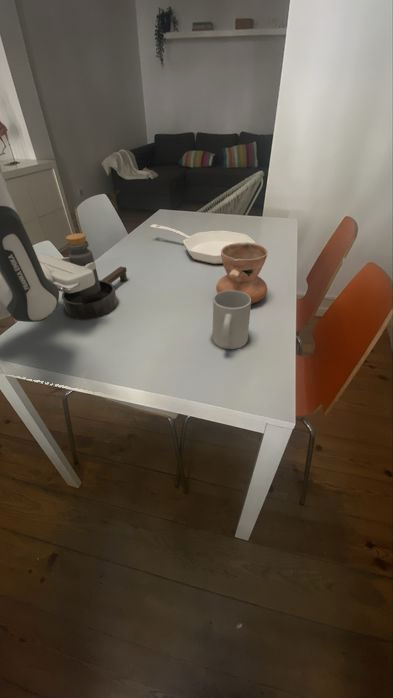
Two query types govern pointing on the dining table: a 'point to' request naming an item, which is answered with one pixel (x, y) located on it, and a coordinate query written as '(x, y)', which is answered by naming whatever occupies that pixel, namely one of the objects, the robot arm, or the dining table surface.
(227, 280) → the ceramic jug
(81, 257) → the bottle
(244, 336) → the mug
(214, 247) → the pan
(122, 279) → the dark brown rectangular block
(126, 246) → the dining table surface
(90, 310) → the dark low round container
